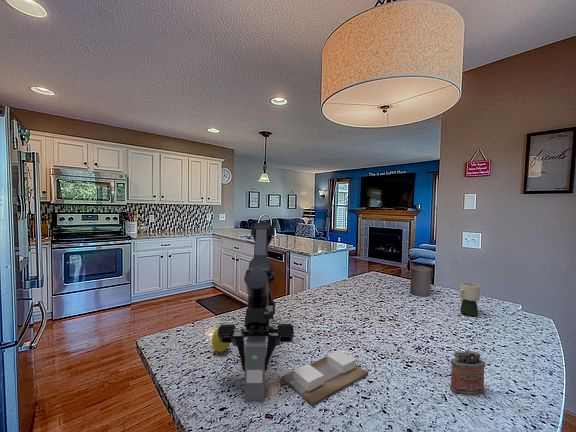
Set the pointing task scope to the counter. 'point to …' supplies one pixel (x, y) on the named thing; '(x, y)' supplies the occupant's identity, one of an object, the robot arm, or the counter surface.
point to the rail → (326, 370)
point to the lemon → (218, 343)
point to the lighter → (467, 373)
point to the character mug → (469, 297)
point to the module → (255, 368)
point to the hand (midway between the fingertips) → (254, 370)
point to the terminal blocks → (314, 378)
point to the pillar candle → (420, 281)
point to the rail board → (327, 383)
